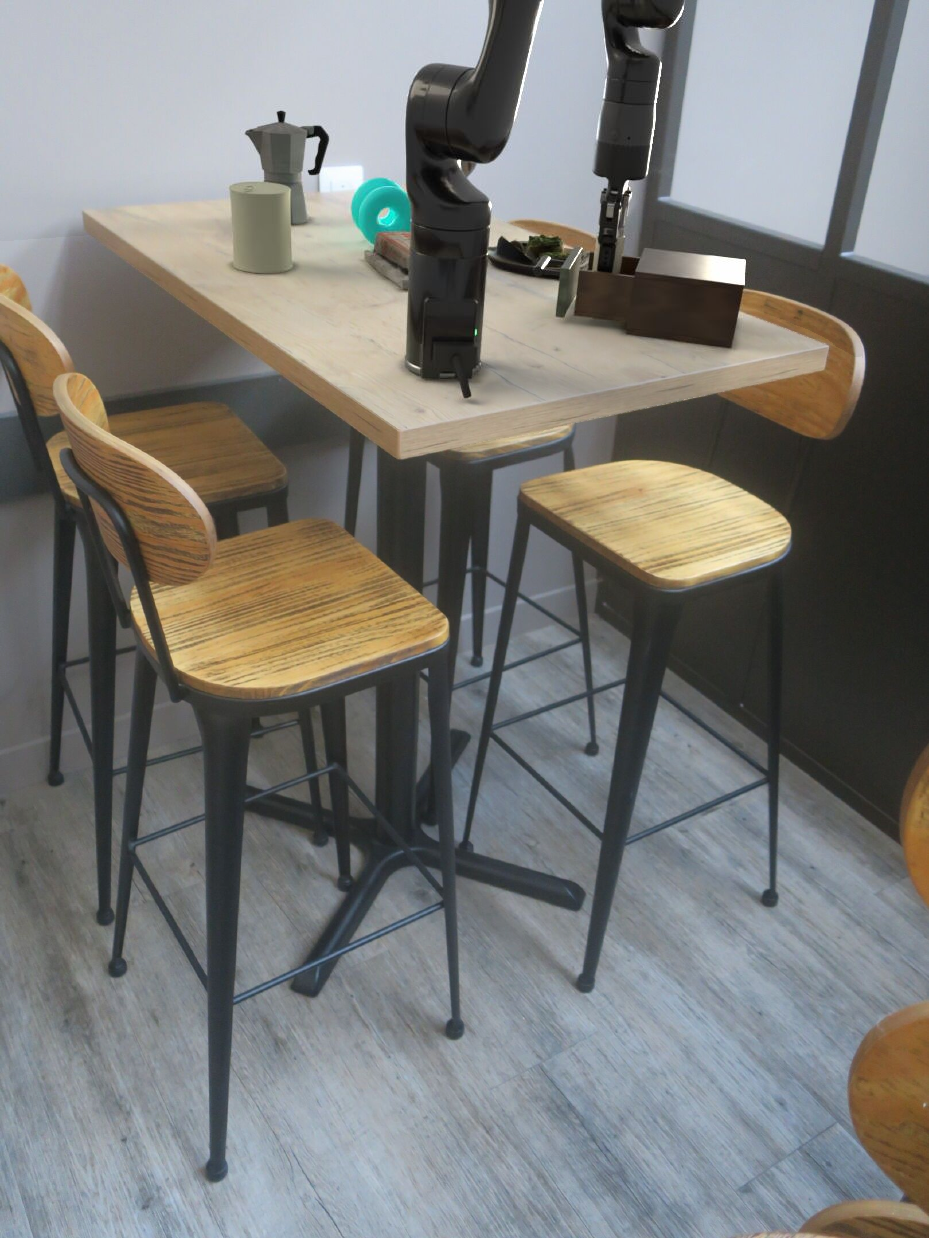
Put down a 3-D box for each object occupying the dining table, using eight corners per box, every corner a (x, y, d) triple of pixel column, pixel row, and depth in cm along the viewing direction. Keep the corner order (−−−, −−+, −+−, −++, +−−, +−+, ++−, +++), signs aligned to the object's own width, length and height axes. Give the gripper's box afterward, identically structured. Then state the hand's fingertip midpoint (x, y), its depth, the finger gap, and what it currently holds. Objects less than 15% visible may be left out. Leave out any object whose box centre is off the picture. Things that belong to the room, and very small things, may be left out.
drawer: (525, 313, 148) (530, 264, 145) (541, 289, 159) (546, 243, 156) (650, 329, 145) (658, 280, 142) (657, 304, 157) (665, 257, 153)
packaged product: (362, 229, 168) (420, 227, 171) (362, 260, 170) (418, 258, 174) (402, 258, 154) (464, 255, 158) (401, 291, 157) (462, 288, 160)
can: (220, 266, 162) (215, 183, 155) (257, 255, 169) (254, 175, 162) (269, 277, 158) (266, 193, 152) (304, 265, 165) (303, 184, 159)
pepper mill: (618, 306, 150) (631, 221, 144) (591, 305, 150) (603, 220, 143) (611, 298, 154) (623, 214, 147) (585, 297, 153) (596, 213, 147)
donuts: (360, 250, 175) (360, 187, 170) (349, 236, 183) (349, 175, 178) (417, 250, 178) (420, 188, 172) (405, 236, 186) (407, 176, 180)
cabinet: (625, 334, 146) (635, 271, 141) (635, 306, 158) (644, 247, 153) (731, 348, 144) (744, 285, 139) (733, 319, 156) (745, 259, 151)
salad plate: (516, 243, 187) (519, 216, 185) (609, 260, 181) (613, 232, 178) (467, 264, 172) (469, 235, 170) (566, 284, 166) (570, 254, 164)
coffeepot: (257, 227, 185) (253, 115, 175) (241, 215, 192) (235, 106, 182) (338, 223, 191) (338, 115, 182) (320, 211, 198) (319, 107, 188)
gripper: (647, 149, 133) (627, 285, 143) (656, 134, 145) (637, 260, 154) (589, 143, 135) (573, 278, 144) (602, 128, 146) (587, 254, 156)
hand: (606, 268), depth 149 cm, fingers closed on pepper mill, 4 cm apart
